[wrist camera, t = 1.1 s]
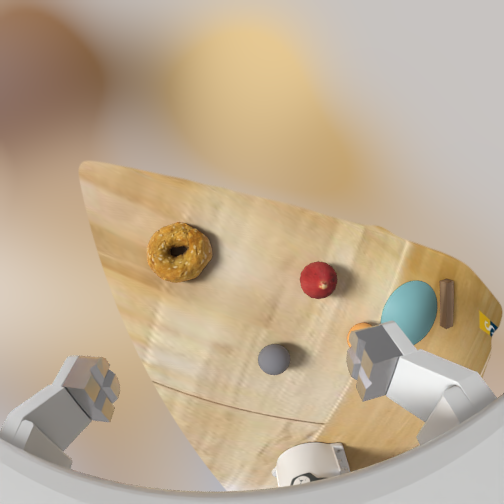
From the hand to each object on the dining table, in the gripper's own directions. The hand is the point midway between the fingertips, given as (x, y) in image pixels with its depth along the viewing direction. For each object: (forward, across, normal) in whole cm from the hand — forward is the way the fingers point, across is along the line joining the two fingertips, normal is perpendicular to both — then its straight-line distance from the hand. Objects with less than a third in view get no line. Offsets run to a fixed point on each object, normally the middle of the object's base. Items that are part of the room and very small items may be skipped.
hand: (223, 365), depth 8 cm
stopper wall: (+29, +40, -26) cm, 56 cm away
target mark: (+29, +31, -26) cm, 50 cm away
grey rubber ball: (+27, +3, -28) cm, 39 cm away
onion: (+34, +12, -16) cm, 39 cm away
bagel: (+37, -10, -10) cm, 40 cm away
